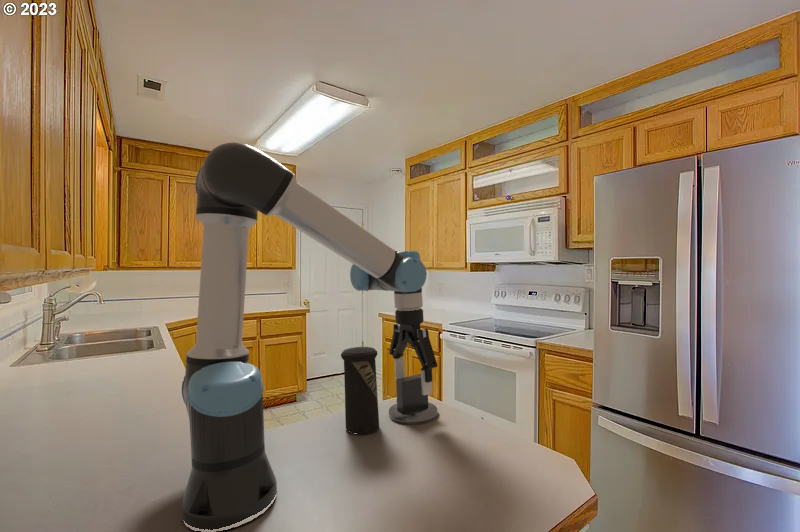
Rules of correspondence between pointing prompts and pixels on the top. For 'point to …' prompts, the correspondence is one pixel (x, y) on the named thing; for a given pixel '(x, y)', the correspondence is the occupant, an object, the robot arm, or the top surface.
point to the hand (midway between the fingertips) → (412, 387)
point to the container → (360, 390)
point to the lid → (411, 403)
